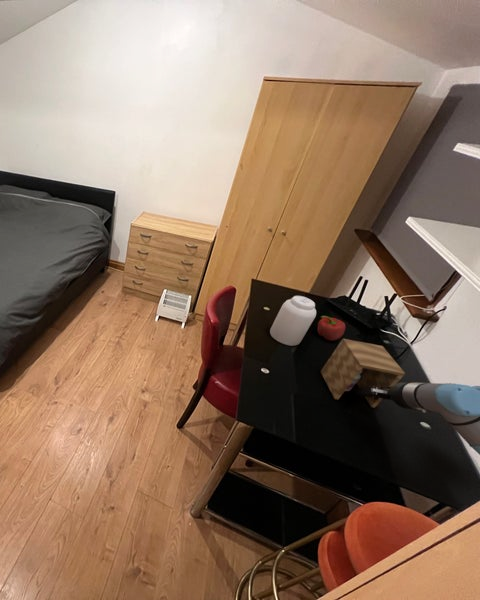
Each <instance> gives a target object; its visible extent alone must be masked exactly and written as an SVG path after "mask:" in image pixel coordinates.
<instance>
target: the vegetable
mask: <svg viewBox="0 0 480 600" xmlns="http://www.w3.org/2000/svg"><path fill="white" fill-rule="evenodd" d="M320 318H321V319H320V320H319V321H318V323H317V334H318V336H321V337H323V338H324V339H325V340H327V341H330V342H331V341H332V342H334V341H336V340H338V339H341V338H342V337H343V335H344V333H345V331H346V324H345V322H344V321H342V320H341V319H338V318H336V317H330V316H327V315H322V316H320Z"/></svg>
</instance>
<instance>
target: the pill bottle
mask: <svg viewBox="0 0 480 600" xmlns="http://www.w3.org/2000/svg"><path fill="white" fill-rule="evenodd" d="M361 373H362V369H361V371H360V372H359V373H358V375H357V376H356V377H355V379H354V380H353V381H352V382H351V384H350V385H349V386H348V388H347V389H346V390H345V391H344V392H350V391H351V390H353V388H354V387H355V385H357V381H358V380H359V379H360V377H361V376H360V374H361Z"/></svg>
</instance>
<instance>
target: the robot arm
mask: <svg viewBox="0 0 480 600" xmlns="http://www.w3.org/2000/svg"><path fill="white" fill-rule="evenodd" d="M354 396H358V397H364V398H365V397H373V396H374V399H375V400H378V398H382V400H388V401H392V402H394V403H395V404H396V405H397V406H398V407H401V408H402V409H407V410H414V411H421V413H423V414H426V413H427V412H431V413H437V414H439V415H440V416H441V417H442V418H443V419H444V420H445V421H446V422H447V423H448V424H449V425H450V426H451V427H452V428H453V429H454V430H455V431H456V433H457V434H459V436H460V437H461V438H462V439H463V440H464V441H465V442H466V444H468V446H469V447H470V448H472V449H473V450H474V451H475V453H477V454H478V455H479V456H480V385H473V386H470V385H467V384H461V383H452V382H449V383H448V382H446V383H445V382H444V383H441V382H440V383H437V382H435V383H432V382H405V381H404V382H402V381H400V382H397V383H396V384H395V385H394V386H393V387H387V388H386V387H381V388H380V389H378V387H375V386H366V387H361V388H359V387H356V386H354Z"/></svg>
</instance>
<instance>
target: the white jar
mask: <svg viewBox="0 0 480 600" xmlns="http://www.w3.org/2000/svg"><path fill="white" fill-rule="evenodd" d="M316 316H317V310H316V303H315V302H314V301H313V300H312V299H310V298H308V297H306V296H302V295H294V296H293V297H291V298H289V299H286V301H284V302H283V304H282V305H281V307H280V309H279V311H278V313H277V315H276V317H275V319H274V321H273V322H272V325H271V327H270V329H269V334H270V336H271V338H273V340H275V341H277V342H278V343H281V344H283V345H286V346H291V347H293V346H294V347H295V346H297V345H300V343H301V342H302V341H303V339H304V337H305V336H306V334H307V332H308V330H309V328H310V327H311V325H312V323H313V321H314V320H315V318H316Z"/></svg>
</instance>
